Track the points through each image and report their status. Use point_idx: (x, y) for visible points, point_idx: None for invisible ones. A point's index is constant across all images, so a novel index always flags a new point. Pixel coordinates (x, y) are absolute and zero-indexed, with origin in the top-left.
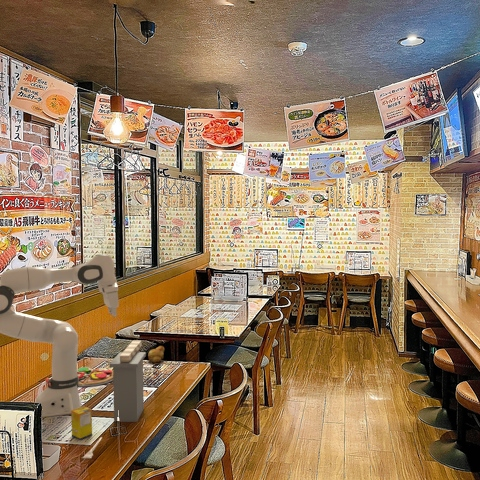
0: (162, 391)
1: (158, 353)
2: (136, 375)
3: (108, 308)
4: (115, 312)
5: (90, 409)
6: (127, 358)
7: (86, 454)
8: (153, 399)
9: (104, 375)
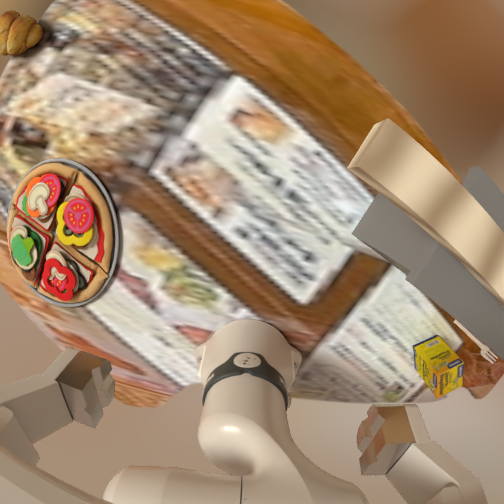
0: (278, 75)
1: (26, 25)
2: None
3: (40, 436)
4: (429, 454)
5: (463, 363)
6: None
7: (482, 352)
8: (330, 125)
9: (84, 207)
